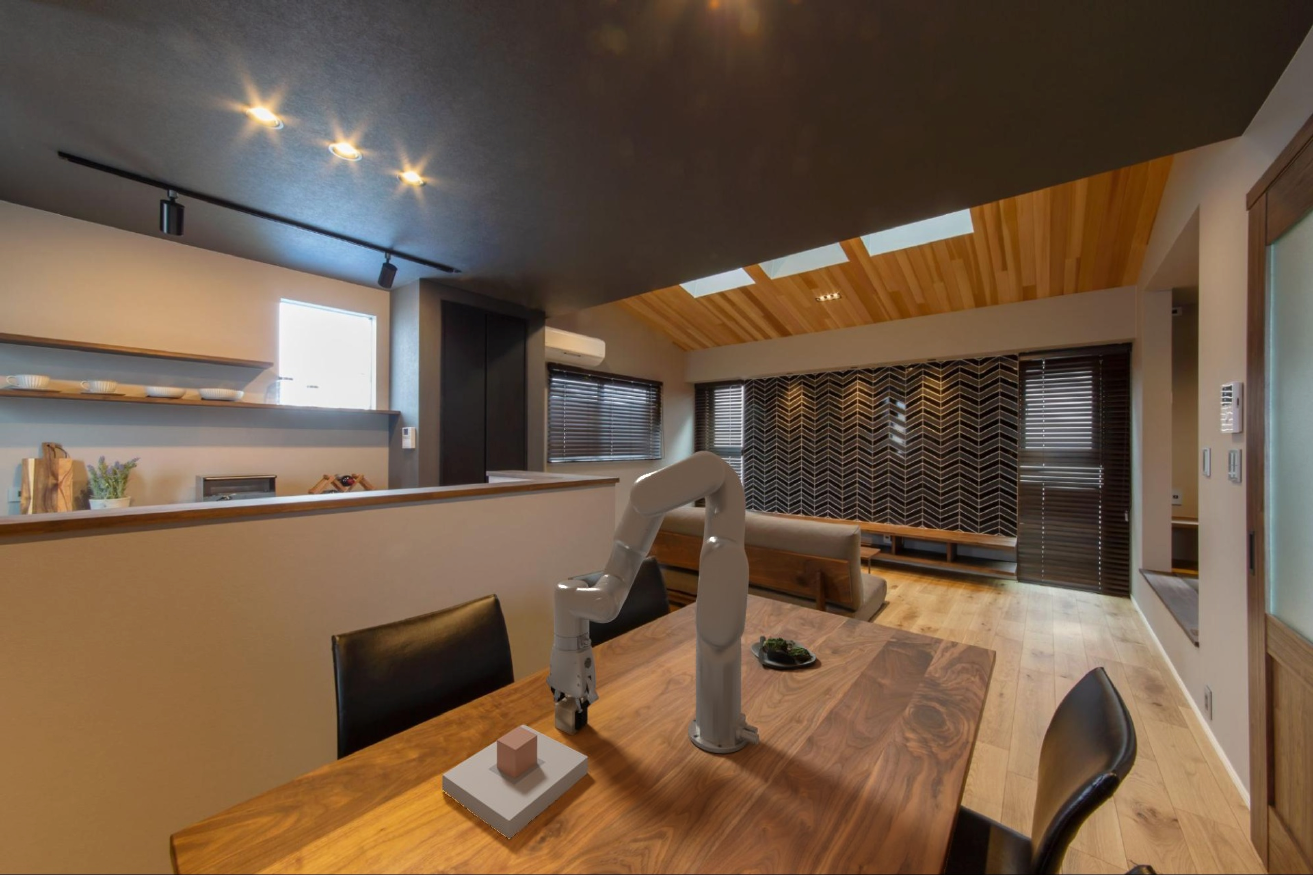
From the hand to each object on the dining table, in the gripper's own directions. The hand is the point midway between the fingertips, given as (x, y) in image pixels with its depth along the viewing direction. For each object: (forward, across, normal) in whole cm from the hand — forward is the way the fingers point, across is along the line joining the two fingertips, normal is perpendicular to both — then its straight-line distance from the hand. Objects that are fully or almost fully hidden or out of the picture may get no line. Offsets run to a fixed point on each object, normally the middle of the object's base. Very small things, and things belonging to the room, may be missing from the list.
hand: (571, 721), depth 103 cm
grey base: (+1, -4, +18) cm, 18 cm away
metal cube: (+1, 0, 0) cm, 1 cm away
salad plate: (+1, -27, -58) cm, 64 cm away
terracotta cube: (-2, -4, +18) cm, 19 cm away
